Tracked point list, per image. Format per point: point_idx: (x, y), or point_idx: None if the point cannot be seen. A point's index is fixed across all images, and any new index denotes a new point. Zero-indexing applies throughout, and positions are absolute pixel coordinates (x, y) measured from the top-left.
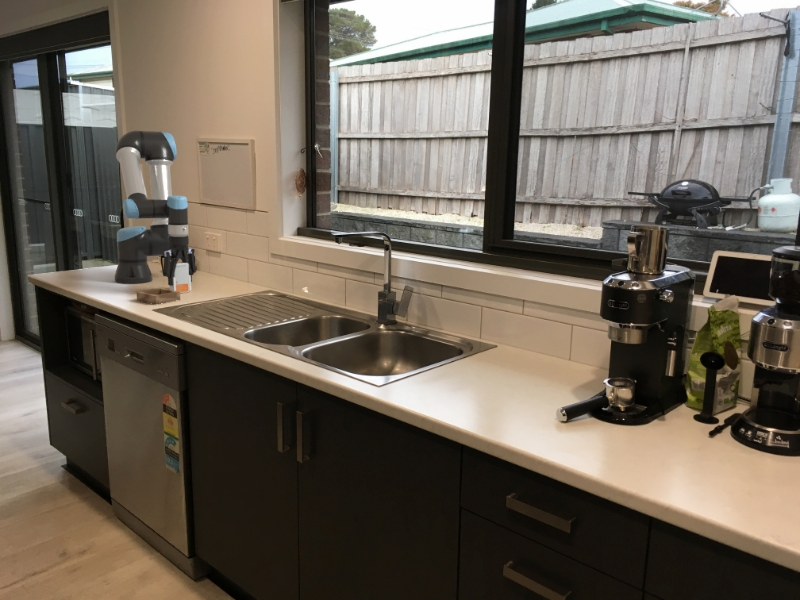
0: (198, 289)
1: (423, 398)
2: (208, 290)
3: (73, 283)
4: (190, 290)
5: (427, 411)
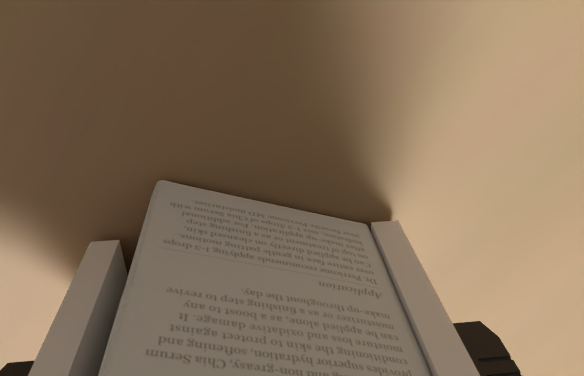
0: (544, 249)
1: None
2: (552, 352)
3: None
4: None
5: None
